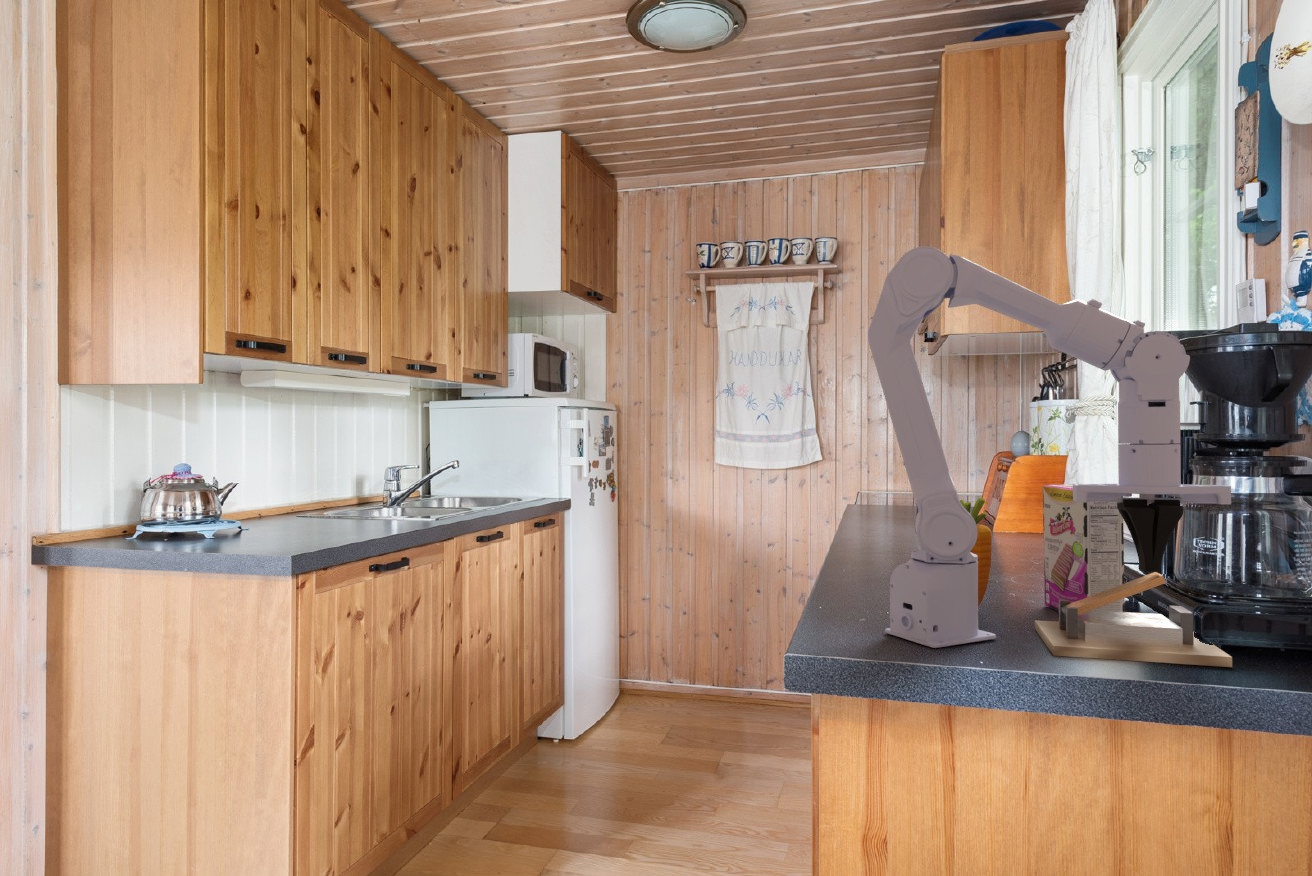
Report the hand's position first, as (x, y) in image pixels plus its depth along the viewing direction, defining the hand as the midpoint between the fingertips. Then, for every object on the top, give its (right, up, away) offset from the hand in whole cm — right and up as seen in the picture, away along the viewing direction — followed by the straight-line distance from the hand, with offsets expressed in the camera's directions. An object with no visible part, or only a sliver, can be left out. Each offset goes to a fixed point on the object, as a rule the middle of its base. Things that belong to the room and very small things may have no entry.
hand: (1149, 570), depth 86 cm
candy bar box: (+1, -9, +15) cm, 18 cm away
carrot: (-12, -9, +18) cm, 24 cm away
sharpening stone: (-2, -8, +1) cm, 9 cm away
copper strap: (-3, -3, +1) cm, 5 cm away
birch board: (-2, -8, +1) cm, 9 cm away
